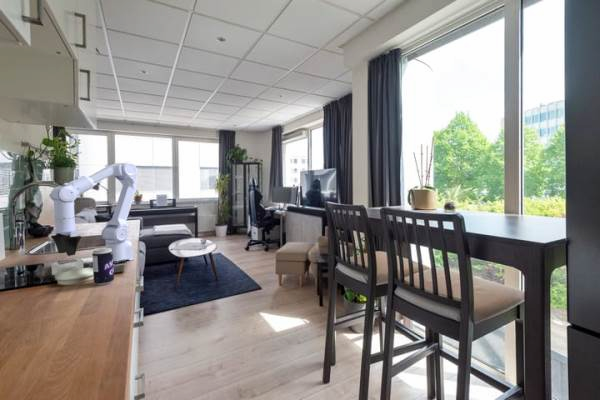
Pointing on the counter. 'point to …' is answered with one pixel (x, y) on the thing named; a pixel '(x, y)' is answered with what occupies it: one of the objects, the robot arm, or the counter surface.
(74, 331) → the counter surface
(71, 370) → the counter surface
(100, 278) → the beverage can
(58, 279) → the stand
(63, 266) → the housing
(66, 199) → the robot arm
